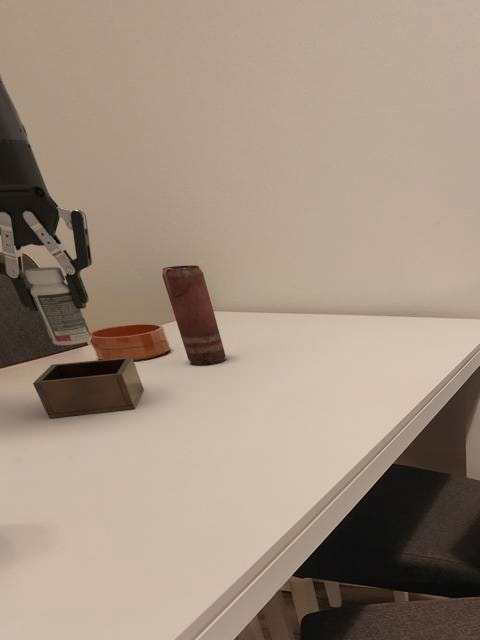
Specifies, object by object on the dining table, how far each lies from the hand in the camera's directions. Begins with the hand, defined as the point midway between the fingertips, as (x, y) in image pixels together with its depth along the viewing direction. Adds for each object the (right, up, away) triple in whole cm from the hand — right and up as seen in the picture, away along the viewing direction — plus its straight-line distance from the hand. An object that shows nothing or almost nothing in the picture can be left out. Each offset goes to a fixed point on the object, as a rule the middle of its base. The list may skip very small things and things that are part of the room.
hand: (59, 308), depth 76 cm
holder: (0, -9, +7) cm, 12 cm away
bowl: (-9, +9, +31) cm, 34 cm away
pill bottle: (0, -3, +3) cm, 4 cm away
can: (+7, +5, +26) cm, 27 cm away
